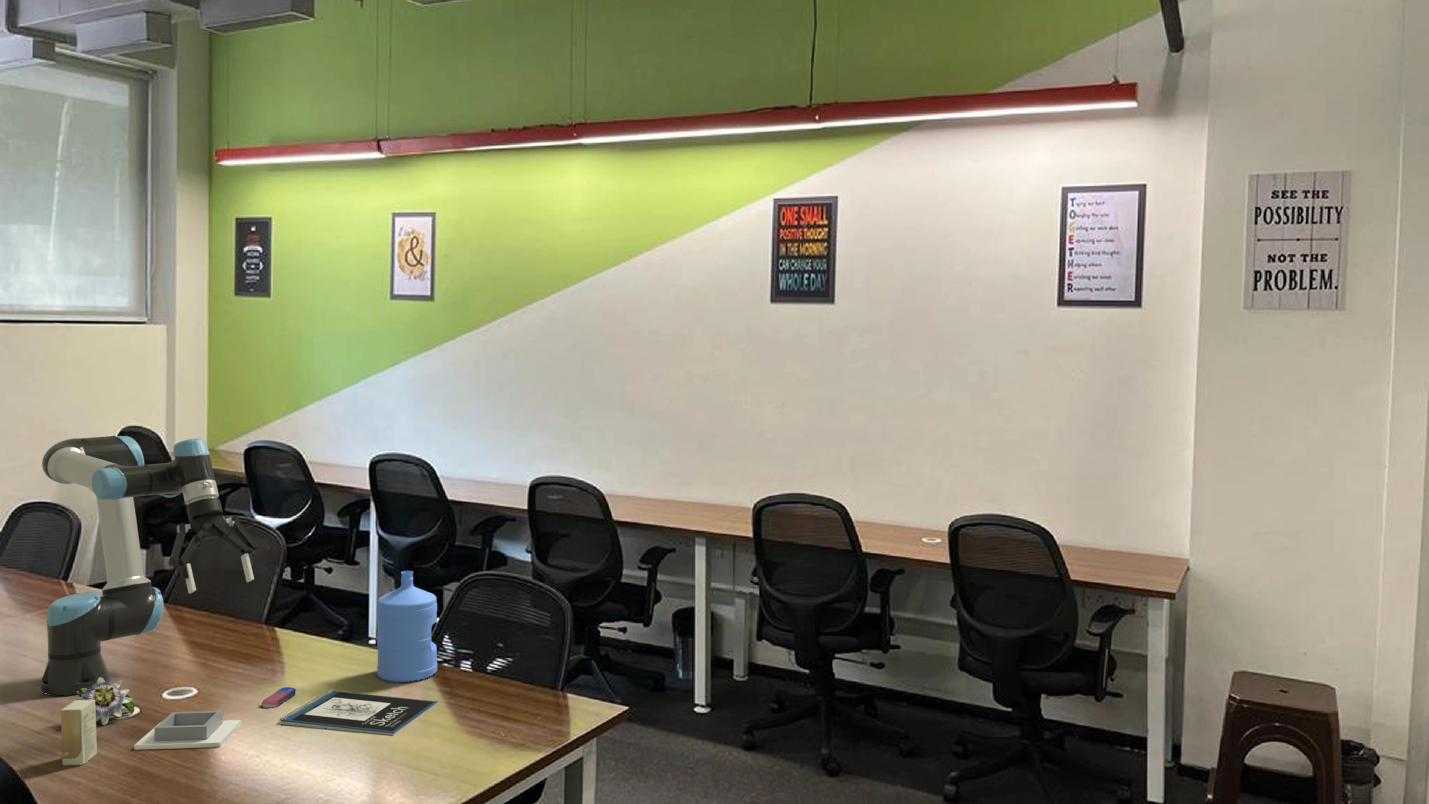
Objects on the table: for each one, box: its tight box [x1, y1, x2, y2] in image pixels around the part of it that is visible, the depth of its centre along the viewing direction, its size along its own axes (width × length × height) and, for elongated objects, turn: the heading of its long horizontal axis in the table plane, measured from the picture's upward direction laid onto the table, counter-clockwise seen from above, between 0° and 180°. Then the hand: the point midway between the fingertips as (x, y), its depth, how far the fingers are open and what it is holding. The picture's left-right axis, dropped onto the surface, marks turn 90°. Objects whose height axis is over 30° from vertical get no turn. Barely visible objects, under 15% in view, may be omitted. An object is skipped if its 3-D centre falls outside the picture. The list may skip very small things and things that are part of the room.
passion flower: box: [75, 677, 135, 726], centre depth 248 cm, size 11×11×12 cm
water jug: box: [376, 570, 438, 683], centre depth 283 cm, size 16×16×28 cm
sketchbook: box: [279, 689, 439, 736], centre depth 254 cm, size 22×30×2 cm
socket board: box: [133, 710, 242, 751], centre depth 238 cm, size 18×14×4 cm
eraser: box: [261, 686, 297, 709], centre depth 262 cm, size 11×4×2 cm, turn 173°
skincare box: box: [60, 699, 98, 766], centre depth 224 cm, size 6×4×12 cm
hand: (222, 586), depth 249 cm, fingers open, 13 cm apart
